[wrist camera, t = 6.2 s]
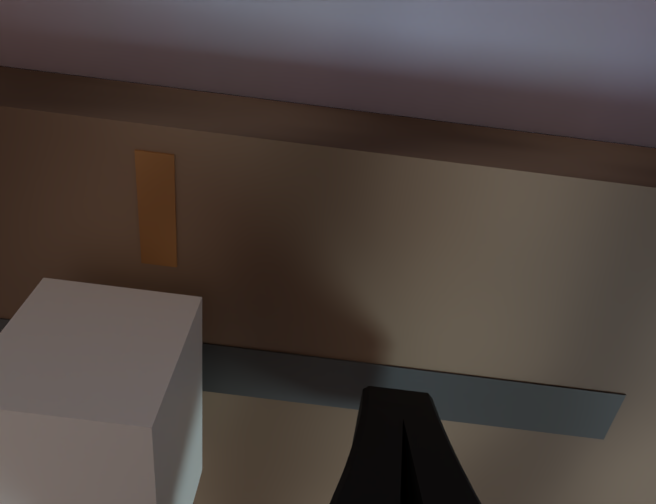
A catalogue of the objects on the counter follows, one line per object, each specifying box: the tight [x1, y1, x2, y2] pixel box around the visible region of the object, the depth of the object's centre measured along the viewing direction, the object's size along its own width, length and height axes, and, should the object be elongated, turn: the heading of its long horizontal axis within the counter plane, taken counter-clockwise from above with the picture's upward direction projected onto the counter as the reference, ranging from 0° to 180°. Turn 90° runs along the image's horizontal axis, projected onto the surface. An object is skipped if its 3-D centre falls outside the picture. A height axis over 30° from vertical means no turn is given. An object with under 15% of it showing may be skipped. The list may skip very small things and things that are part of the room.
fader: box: [0, 278, 202, 504], centre depth 12 cm, size 3×5×4 cm, turn 174°
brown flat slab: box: [0, 66, 656, 504], centre depth 15 cm, size 20×11×2 cm, turn 84°
